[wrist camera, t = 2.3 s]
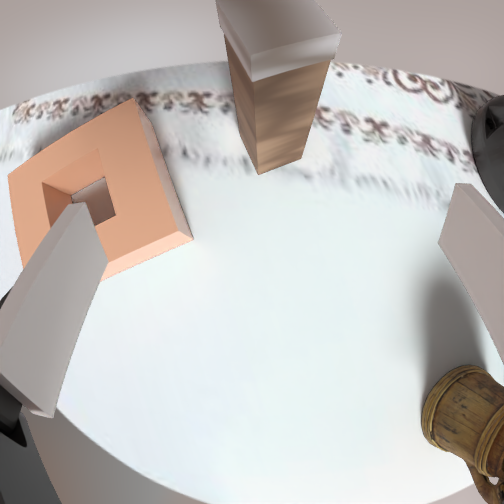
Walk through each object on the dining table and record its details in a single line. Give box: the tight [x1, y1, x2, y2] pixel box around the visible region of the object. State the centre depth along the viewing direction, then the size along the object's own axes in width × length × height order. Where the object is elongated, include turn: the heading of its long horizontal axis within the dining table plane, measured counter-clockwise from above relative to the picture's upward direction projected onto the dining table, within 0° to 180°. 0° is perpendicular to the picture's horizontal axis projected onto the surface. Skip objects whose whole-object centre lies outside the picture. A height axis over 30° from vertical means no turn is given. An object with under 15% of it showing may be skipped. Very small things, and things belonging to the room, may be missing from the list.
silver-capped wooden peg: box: [216, 0, 342, 175], centre depth 19 cm, size 4×4×16 cm
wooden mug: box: [422, 365, 504, 504], centre depth 15 cm, size 9×14×18 cm, turn 177°
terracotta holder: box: [8, 98, 194, 281], centre depth 25 cm, size 14×12×5 cm
